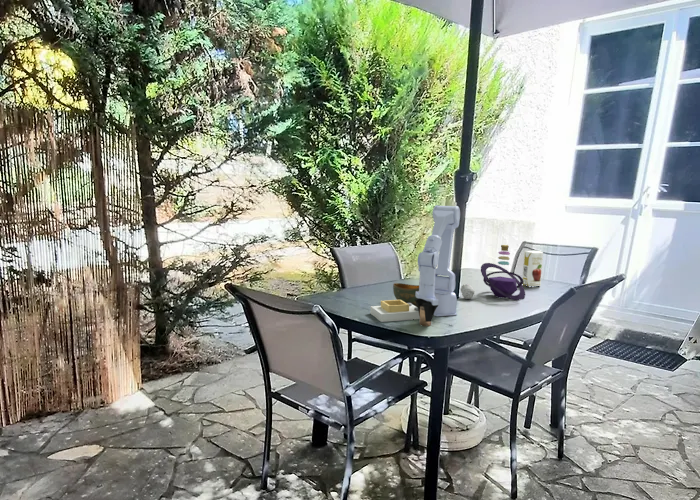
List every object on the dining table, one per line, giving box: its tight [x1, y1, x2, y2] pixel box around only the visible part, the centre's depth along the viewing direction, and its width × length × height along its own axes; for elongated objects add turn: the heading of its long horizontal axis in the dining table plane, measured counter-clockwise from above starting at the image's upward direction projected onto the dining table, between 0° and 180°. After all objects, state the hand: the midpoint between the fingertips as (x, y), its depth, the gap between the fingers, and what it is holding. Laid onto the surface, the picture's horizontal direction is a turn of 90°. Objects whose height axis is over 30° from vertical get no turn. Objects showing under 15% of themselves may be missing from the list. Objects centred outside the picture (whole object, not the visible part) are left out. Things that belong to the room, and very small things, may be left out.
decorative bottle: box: [480, 244, 526, 301], centre depth 215 cm, size 22×21×25 cm
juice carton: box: [521, 250, 544, 287], centre depth 241 cm, size 8×9×19 cm
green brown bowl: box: [392, 282, 419, 307], centre depth 198 cm, size 13×20×10 cm, turn 28°
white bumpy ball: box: [460, 283, 475, 300], centre depth 211 cm, size 6×7×7 cm
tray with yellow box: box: [370, 299, 420, 323], centre depth 180 cm, size 18×12×6 cm, turn 108°
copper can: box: [419, 305, 432, 327], centre depth 169 cm, size 4×4×7 cm
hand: (425, 319), depth 169 cm, fingers closed on copper can, 4 cm apart
